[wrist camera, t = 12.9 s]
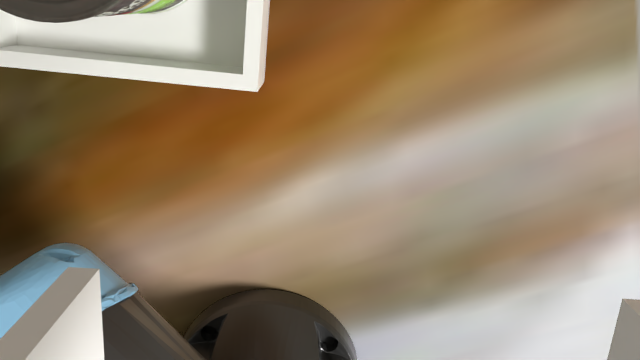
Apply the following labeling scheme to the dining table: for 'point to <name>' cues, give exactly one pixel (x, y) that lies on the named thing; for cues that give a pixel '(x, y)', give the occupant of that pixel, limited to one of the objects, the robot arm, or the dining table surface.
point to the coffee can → (82, 8)
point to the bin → (150, 44)
